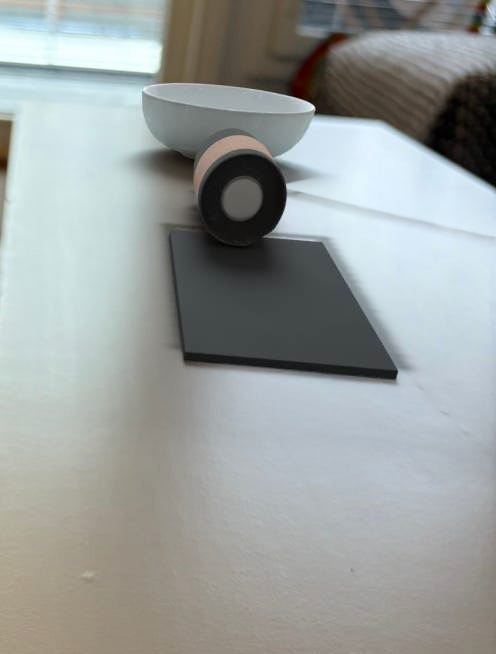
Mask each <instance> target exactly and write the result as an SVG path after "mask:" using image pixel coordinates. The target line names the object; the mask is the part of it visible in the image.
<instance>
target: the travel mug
mask: <svg viewBox="0 0 496 654" xmlns="http://www.w3.org/2000/svg"><path fill="white" fill-rule="evenodd" d="M192 171H193V172H192V174H193V175H192V176H193V177H192V178H193V179H192V180H193V181H192V182H193V185H192V187H193V194H194V197H195V202H196V205H197V209H198V214H199V216H200V220H201V223H202V224H203V226H204V228H205V229H206V231H207V232H208V233H210V234H211V235H212V236H213V237H214V238H216V239H217V240H219V241H221V242H223V243H225V244H228V245H233V246H247V245H249V244H251V243H253V242H255V241H256V240H258V239H260V238H262V237H266V235H268V234H271V233H272V232H273V231H274V230H275V229H276V228H277V226H278V224H280V221H281V219H282V217H283V215H284V212H285V209H286V206H287V200H288V189H287V188H288V187H287V183H286V179H285V176H284V174H283V172H282V170H281V168H280V166H278V164H277V162H276V160H275V159H274V158H273V157H272V156H271V154H270V153H269V151H268V150H267V148H266V147H265V146H264V145H263V144H262V143H261V142H260V141H258V140H257V139H256V138H255V137H254V136H252V135H251V134H250V133H248V132H246V131H244V130H241V129H236V128H229V129H224V130H221V131H218V132H216V133H214V134H213V135H211V136H210V137H209V138H208V139H207V140H205V142H204V143H203V144H202V145H201V147H200V149H199V150H198V152H197V155H196V158H195V160H194V162H193V169H192Z"/></svg>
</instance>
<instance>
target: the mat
mask: <svg viewBox="0 0 496 654" xmlns="http://www.w3.org/2000/svg"><path fill="white" fill-rule="evenodd" d="M168 235H169V236H168V237H169V243H170V244H169V245H170V253H171V261H172V270H173V279H174V286H175V295H176V305H177V313H178V322H179V330H180V340H181V349H182V357H183V361H188V362H189V361H190V362H199V363H200V362H201V363H210V364H211V363H212V364H223V365H233V366H245V367H255V368H267V369H276V370H277V369H278V370H290V371H300V372H310V373H324V374H335V375H345V376H355V377H356V376H358V377H367V378H368V377H369V378H377V379H378V378H379V379H389V380H396V379H397V377H398V374H399V370H398V368H397V366H396V364H395V362H394V361H393V359H392V357H391V356H390V354H389V353H388V351H387V349H386V347H385V346H384V343H383V342H382V341H381V339H380V337H379V335H378V334H377V332H376V331H375V329H374V327H373V326H372V324H371V322H370V320H369V319H368V317H367V315H366V313H365V312H364V310H363V308H362V306H361V304H360V303H359V302H358V300H357V298H356V297H355V295H354V293H353V292H352V289H351V288H350V286H349V284H348V283H347V281H346V279H345V278H344V276H343V274H342V273H341V271H340V270H339V268H338V266H337V264H336V263H335V261H334V259H333V257H332V256H331V254H330V253H329V250H328V249H327V247H326V245H325V244H324V243H323V241H316V240H304V239H292V238H278V237H269V236H263V237H262V238H260V239H258V240H256V241H255V242H253V243H251V244H249V245H247V246H233V245H228V244H225V243H223V242H221V241H219V240H217V239H216V238H214V237H213V236H212V235H211V234H210V233H209V232H208V231H207V232H206V231H194V230H184V229H170V230H169V234H168Z"/></svg>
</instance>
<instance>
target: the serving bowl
mask: <svg viewBox="0 0 496 654" xmlns="http://www.w3.org/2000/svg"><path fill="white" fill-rule="evenodd" d="M141 104H142V105H141V107H142V108H141V109H142V114H143V118H144V121H145V124H146V127H147V128H148V130H149V132H150V133H151V134H152V136H153V137H154V138H155V139H156V140H157V142H159V143H161V144H162V145H163V146H166V147H167V148H169V149H171V150H173V151H175V152H178V153H180V154H181V155H182V156H184V157H186V158H188V159H191V160H194V161H195V158H196V155H197V152H198V150H199V149H200V147H201V145H202V144H203V143H204V142H205V140H207V139H208V138H209V137H210V136H211V135H213V134H214V133H216V132H218V131H221V130H224V129H229V128H236V129H241V130H244V131H246V132H248V133H250V134H251V135H252V136H254V137H255V138H256V139H257V140H258V141H260V142H261V143H262V144H263V145H264V146H265V147H266V148H267V150H268V151H269V153H270V154H271V156H272V157H273V159H274V158H277V157H280V156H282V155H284V154H286V153H287V152H289V151H290V150H292V149H293V148H294V147H295V146H297V144H298V143H299V142H300V141H302V139H303V137H304V136H305V135H306V133H307V131H308V129H309V128H310V125H311V123H312V120H313V117H314V115H315V112H316V106H314V104H312V103H310V102H308V101H307V100H303V99H301V98H298V97H294V96H289V95H286V94H281V93H276V92H272V91H266V90H260V89H253V88H247V87H239V86H230V85H220V84H208V83H207V84H206V83H190V82H189V83H187V82H186V83H185V82H183V83H182V82H181V83H180V82H179V83H178V82H173V83H157V84H151V85H147V86H144V87H143V88H142V90H141Z"/></svg>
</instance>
